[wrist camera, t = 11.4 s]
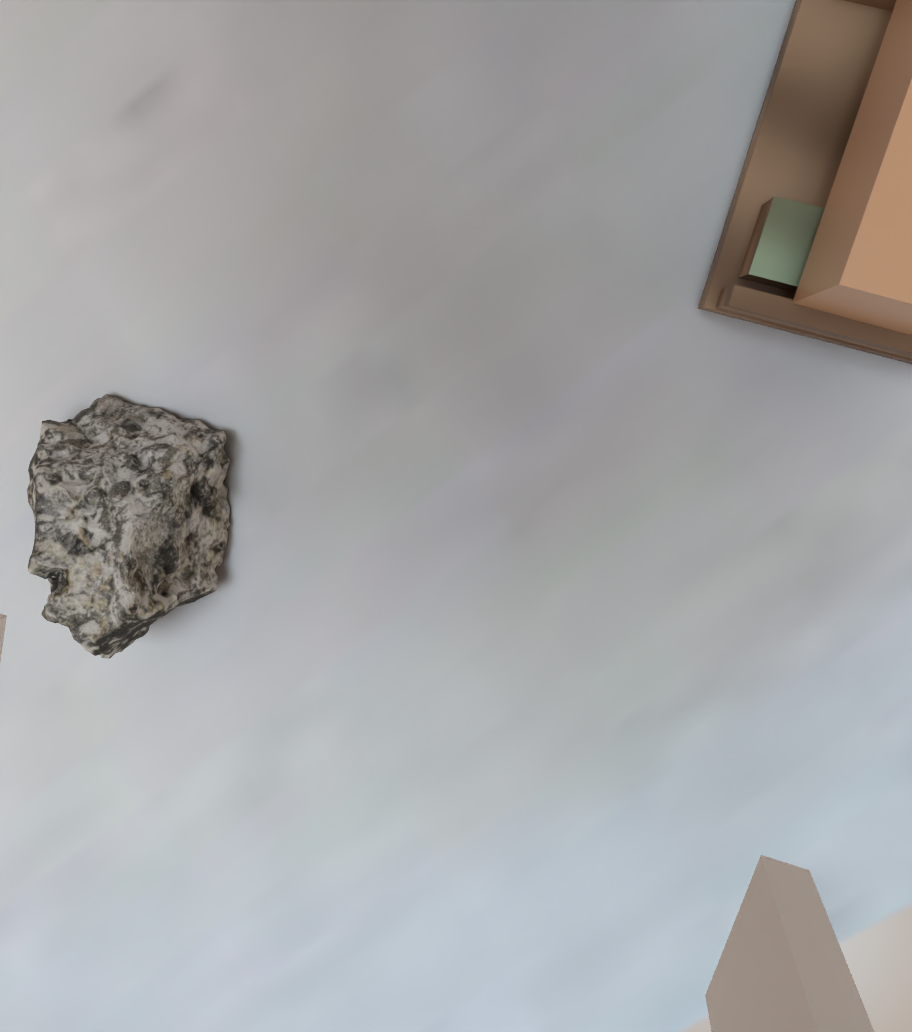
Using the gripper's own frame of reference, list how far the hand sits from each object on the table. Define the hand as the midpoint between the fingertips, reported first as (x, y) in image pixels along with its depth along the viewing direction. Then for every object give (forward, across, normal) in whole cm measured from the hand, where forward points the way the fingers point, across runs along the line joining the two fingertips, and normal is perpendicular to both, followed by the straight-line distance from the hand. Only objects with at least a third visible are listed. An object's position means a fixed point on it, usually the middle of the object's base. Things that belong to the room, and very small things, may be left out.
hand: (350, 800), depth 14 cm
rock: (+29, -18, -6) cm, 35 cm away
